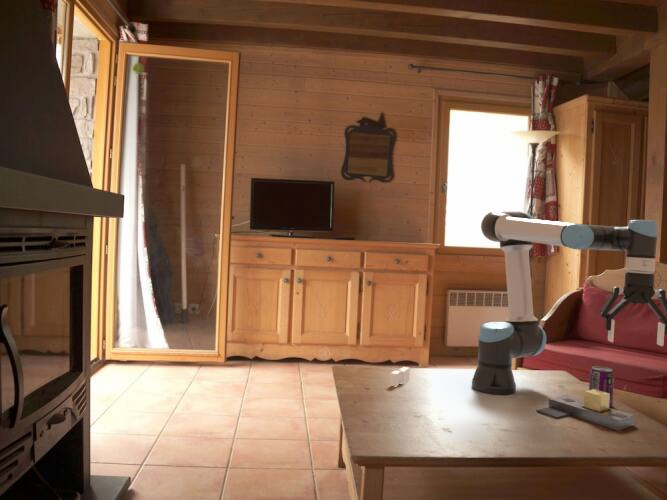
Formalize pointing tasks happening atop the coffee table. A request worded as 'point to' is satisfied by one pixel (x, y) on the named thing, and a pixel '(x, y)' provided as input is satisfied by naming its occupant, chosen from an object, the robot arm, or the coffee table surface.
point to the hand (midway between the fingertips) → (635, 343)
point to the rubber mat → (553, 412)
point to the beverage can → (602, 381)
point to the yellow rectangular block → (596, 401)
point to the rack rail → (593, 413)
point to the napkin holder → (400, 376)
